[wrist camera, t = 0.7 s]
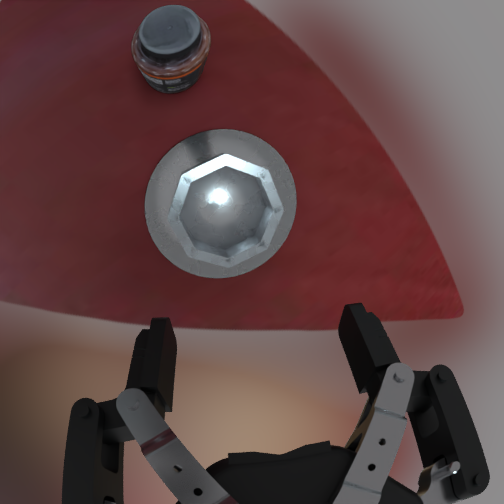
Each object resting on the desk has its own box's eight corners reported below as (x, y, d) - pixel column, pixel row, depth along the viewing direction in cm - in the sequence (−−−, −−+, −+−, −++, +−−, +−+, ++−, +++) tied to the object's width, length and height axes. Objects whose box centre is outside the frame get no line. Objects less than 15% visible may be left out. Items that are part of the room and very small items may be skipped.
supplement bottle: (182, 33, 21) (187, -20, 11) (214, 73, 24) (235, 36, 14) (133, 65, 22) (108, 25, 11) (164, 106, 24) (155, 84, 14)
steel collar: (129, 253, 29) (124, 267, 26) (176, 108, 25) (175, 103, 21) (261, 287, 35) (269, 302, 31) (314, 163, 30) (329, 166, 27)
